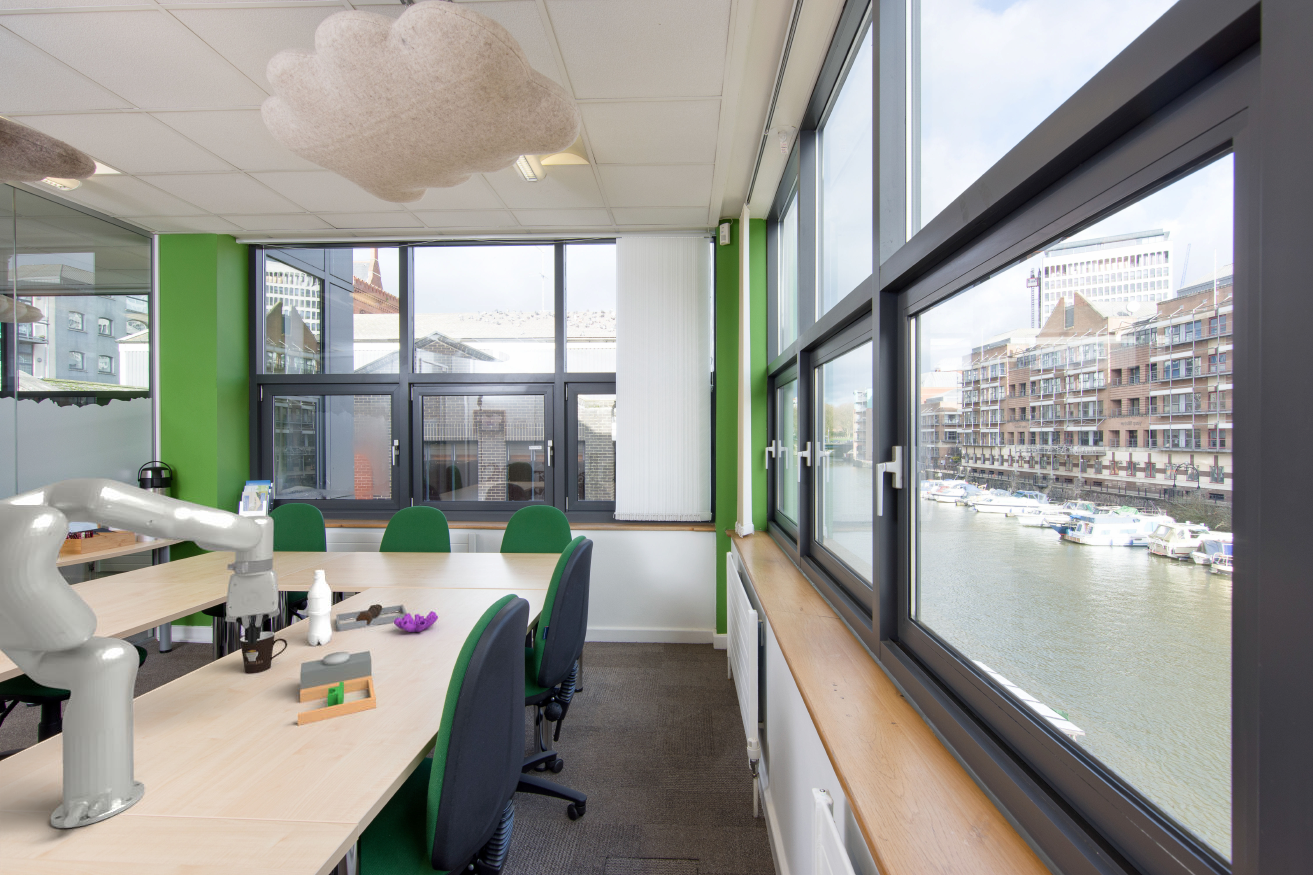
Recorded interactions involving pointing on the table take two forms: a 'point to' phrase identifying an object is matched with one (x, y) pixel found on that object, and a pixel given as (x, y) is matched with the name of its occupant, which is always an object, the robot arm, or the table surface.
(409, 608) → the table surface
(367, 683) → the orange and grey frame
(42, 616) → the robot arm
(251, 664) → the coffee mug
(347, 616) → the parts tray
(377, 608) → the brown lumpy elongated piece
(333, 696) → the pipe clamp
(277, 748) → the table surface
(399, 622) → the purple coral
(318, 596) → the water bottle
